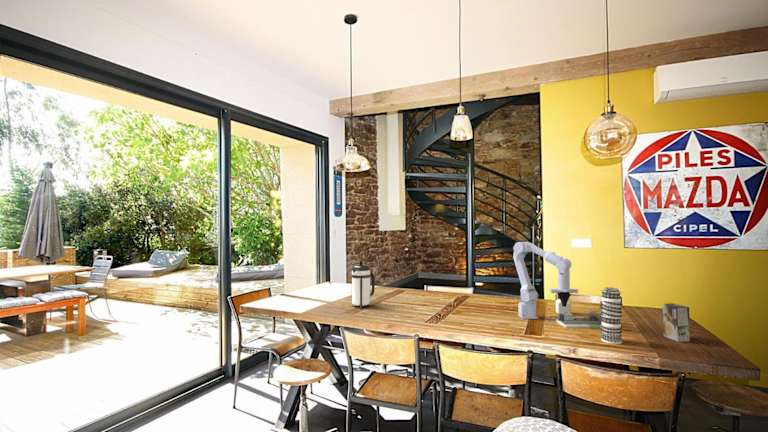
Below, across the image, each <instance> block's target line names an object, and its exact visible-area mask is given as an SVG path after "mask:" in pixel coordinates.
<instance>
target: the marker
mask: <svg viewBox="0 0 768 432" xmlns="http://www.w3.org/2000/svg"><path fill="white" fill-rule="evenodd" d="M584 318H585V321H595V315H593V314H591V313H590V312H589V313H584Z"/></svg>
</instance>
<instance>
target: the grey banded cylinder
mask: <svg viewBox="0 0 768 432" xmlns="http://www.w3.org/2000/svg"><path fill="white" fill-rule="evenodd" d="M621 293H622V292H621V291H620V290H619V289H618V288H616V287H610V286H607V287H603V289H602V290H601V301H600V302H599V304H600V305H599V307H601V308H602V309H601V311H600V315H601V316H602V325H601V327H602V328H600V340H601V342H603V343H607V344H612V345H620V344H622V340H623V339H622V337H623V335H622V333H623V332H622V330H623V328H622V324H621V319H622V317H623V316H622V315H621V314H622V313H623V311H622V310H623V308H622V306H623V300H621V299H622V298H621Z"/></svg>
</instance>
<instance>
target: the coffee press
mask: <svg viewBox="0 0 768 432" xmlns="http://www.w3.org/2000/svg"><path fill="white" fill-rule="evenodd" d="M363 263H364V262H363V260H359V262H358V264H354V265H352V266H351V269H350V270H351V302H350V304H352V306H359V308H360V310H361V309H363V306H367V305H369V306H370V307H373V302H371V300H372V299H371V297H372V296H373V295H374V294H375V286H376V285H375V281H376V280H375V275H374V273H372V272H371V269H372V268H371V267H370V265H369V264H365V263H364V264H363ZM370 303H371V304H370Z"/></svg>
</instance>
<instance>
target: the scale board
mask: <svg viewBox="0 0 768 432" xmlns="http://www.w3.org/2000/svg"><path fill="white" fill-rule="evenodd" d="M589 311H590V312H589V313H591V314H593V315H595V321H585V317H575V318H576V320H574V321H563V322H562V321H560V317H557V319H555V322H556V323H557V324H559V325H560V326H562V327H563V328H565V329H567V328H568V329H571V328H572V329H575V328H576V329H582V328H583V329H601V328H602V327H601V325H602V316H601V313H598V312H595V311H594V310H589Z"/></svg>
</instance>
